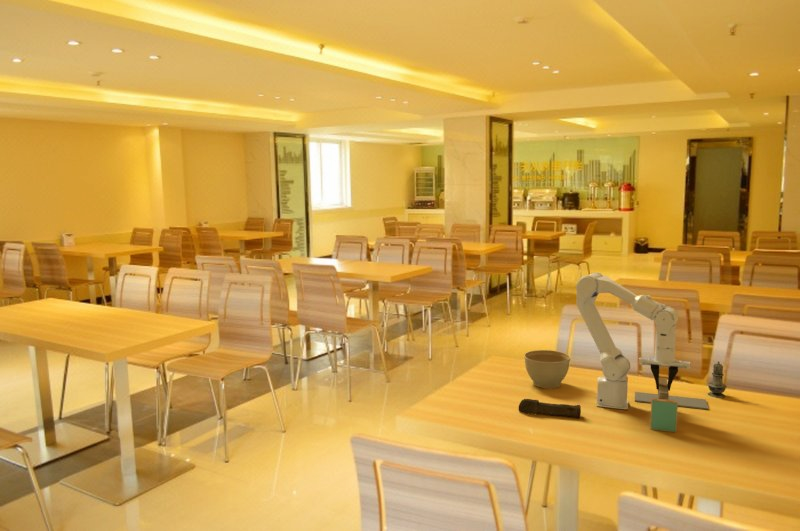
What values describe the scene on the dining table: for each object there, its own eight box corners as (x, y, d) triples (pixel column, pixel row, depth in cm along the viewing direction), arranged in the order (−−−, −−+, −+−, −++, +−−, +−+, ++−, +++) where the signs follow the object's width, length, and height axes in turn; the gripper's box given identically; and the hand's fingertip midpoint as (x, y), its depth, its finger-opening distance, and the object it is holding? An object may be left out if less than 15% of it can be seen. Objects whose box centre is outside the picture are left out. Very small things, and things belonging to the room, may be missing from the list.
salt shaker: (728, 398, 205) (730, 364, 204) (709, 397, 206) (711, 363, 205) (723, 392, 211) (725, 359, 209) (704, 391, 212) (706, 358, 210)
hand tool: (580, 415, 191) (581, 401, 191) (580, 420, 187) (580, 405, 187) (519, 409, 197) (520, 395, 196) (518, 413, 193) (518, 399, 193)
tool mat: (634, 401, 203) (634, 400, 203) (635, 393, 211) (635, 391, 211) (708, 409, 195) (708, 408, 195) (705, 400, 203) (705, 399, 203)
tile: (650, 429, 179) (651, 399, 178) (650, 427, 181) (651, 398, 180) (676, 432, 177) (677, 402, 176) (676, 430, 179) (677, 400, 177)
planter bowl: (522, 377, 230) (522, 349, 228) (566, 378, 227) (567, 350, 226) (525, 391, 214) (525, 361, 212) (572, 393, 212) (573, 362, 210)
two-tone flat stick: (659, 405, 183) (659, 392, 183) (657, 389, 198) (658, 377, 198) (668, 406, 183) (668, 393, 182) (666, 390, 197) (666, 378, 197)
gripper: (639, 347, 187) (638, 390, 189) (691, 351, 182) (689, 395, 184) (639, 342, 194) (638, 383, 196) (690, 346, 189) (687, 388, 190)
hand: (663, 389), depth 190 cm, fingers closed on two-tone flat stick, 2 cm apart
